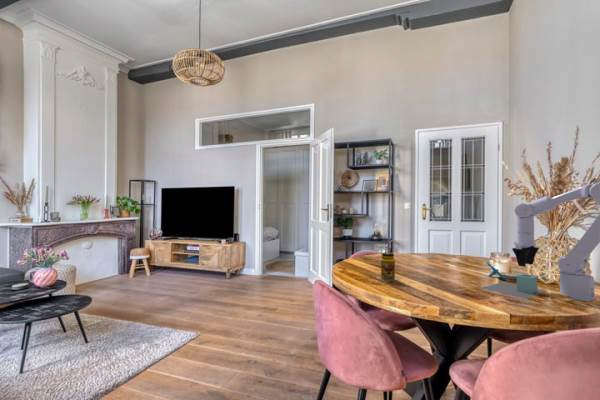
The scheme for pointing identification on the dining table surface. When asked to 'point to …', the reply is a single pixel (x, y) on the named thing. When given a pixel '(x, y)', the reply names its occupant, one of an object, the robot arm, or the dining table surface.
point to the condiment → (387, 267)
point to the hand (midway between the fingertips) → (525, 265)
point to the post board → (511, 290)
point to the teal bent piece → (494, 271)
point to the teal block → (527, 283)
